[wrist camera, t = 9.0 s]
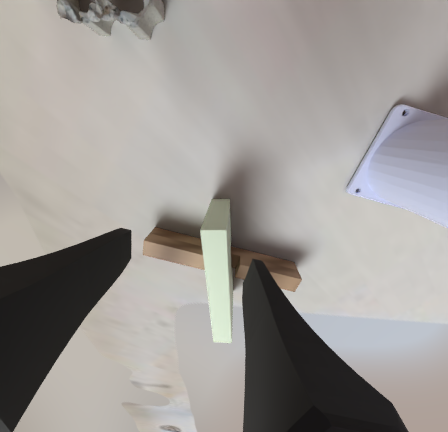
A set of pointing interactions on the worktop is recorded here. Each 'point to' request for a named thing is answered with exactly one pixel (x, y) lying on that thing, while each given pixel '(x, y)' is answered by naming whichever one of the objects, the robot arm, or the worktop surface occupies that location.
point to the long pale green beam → (218, 268)
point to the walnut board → (193, 256)
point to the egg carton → (113, 16)
